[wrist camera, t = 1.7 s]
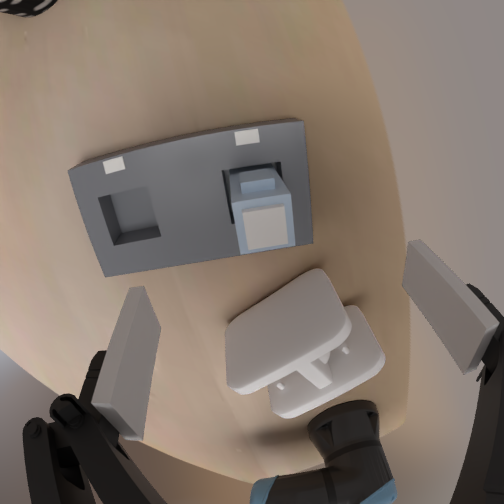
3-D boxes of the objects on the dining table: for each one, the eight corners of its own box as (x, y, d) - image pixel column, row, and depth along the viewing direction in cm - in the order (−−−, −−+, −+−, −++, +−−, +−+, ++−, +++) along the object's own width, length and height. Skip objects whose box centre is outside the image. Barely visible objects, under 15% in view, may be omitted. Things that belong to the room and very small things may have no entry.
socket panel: (305, 228, 33) (313, 243, 30) (114, 260, 33) (104, 278, 30) (294, 118, 28) (304, 121, 24) (82, 162, 27) (66, 171, 24)
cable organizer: (323, 254, 35) (358, 320, 25) (359, 306, 40) (392, 369, 30) (223, 320, 39) (225, 394, 29) (270, 360, 43) (281, 427, 33)
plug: (274, 199, 31) (297, 249, 22) (235, 206, 31) (241, 259, 22) (269, 153, 29) (291, 184, 19) (227, 160, 29) (229, 194, 19)
